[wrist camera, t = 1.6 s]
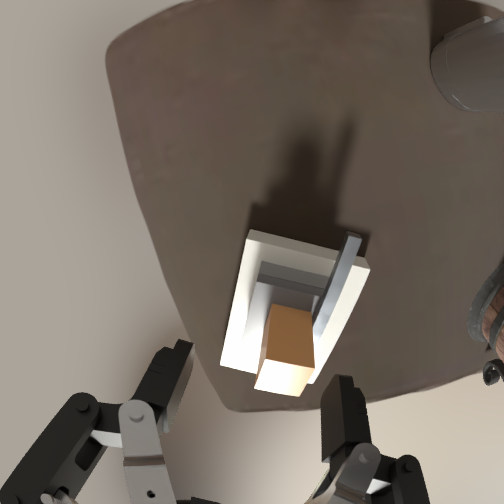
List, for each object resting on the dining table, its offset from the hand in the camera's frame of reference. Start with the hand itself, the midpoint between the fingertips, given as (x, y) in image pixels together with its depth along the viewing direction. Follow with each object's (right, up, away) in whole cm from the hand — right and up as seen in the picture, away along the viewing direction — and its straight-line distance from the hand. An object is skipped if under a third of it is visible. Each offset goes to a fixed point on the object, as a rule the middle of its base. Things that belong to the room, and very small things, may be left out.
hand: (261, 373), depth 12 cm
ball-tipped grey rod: (+6, -1, +15) cm, 16 cm away
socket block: (+4, -2, +25) cm, 25 cm away
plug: (+4, 0, +20) cm, 21 cm away
